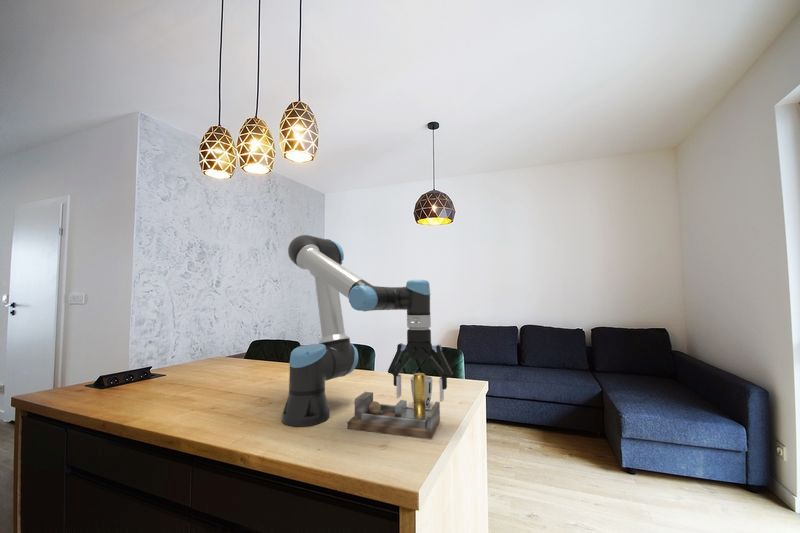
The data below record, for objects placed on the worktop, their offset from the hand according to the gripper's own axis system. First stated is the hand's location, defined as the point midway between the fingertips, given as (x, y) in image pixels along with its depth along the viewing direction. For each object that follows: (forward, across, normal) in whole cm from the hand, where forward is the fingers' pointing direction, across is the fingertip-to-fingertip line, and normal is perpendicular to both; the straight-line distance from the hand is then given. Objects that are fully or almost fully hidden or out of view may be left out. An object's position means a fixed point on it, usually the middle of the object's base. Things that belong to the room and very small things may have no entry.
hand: (420, 398), depth 97 cm
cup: (+9, -4, +20) cm, 22 cm away
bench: (+9, -8, 0) cm, 12 cm away
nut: (+6, -15, 0) cm, 16 cm away
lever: (+6, -2, 0) cm, 7 cm away
